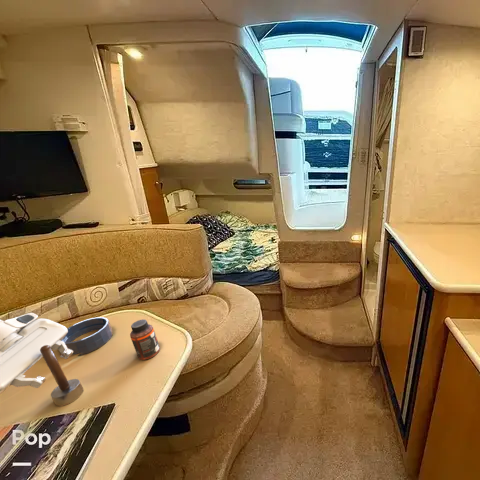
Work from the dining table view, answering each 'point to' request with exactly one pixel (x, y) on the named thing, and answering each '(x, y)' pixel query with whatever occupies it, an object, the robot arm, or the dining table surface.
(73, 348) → the ring
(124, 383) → the dining table surface
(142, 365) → the dining table surface
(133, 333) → the supplement bottle
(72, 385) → the peg on round base
